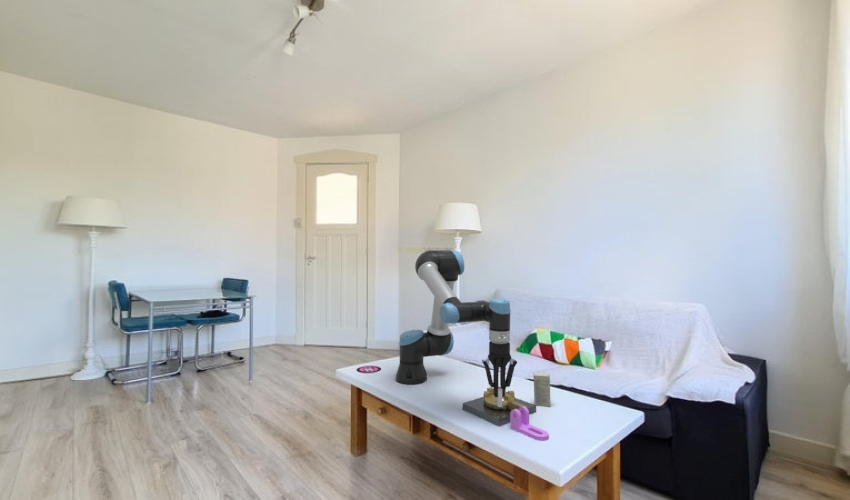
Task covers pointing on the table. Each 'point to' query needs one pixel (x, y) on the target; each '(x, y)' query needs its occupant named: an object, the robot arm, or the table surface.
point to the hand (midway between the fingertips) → (499, 405)
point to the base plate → (493, 411)
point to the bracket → (526, 424)
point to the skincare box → (542, 389)
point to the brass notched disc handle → (507, 401)
